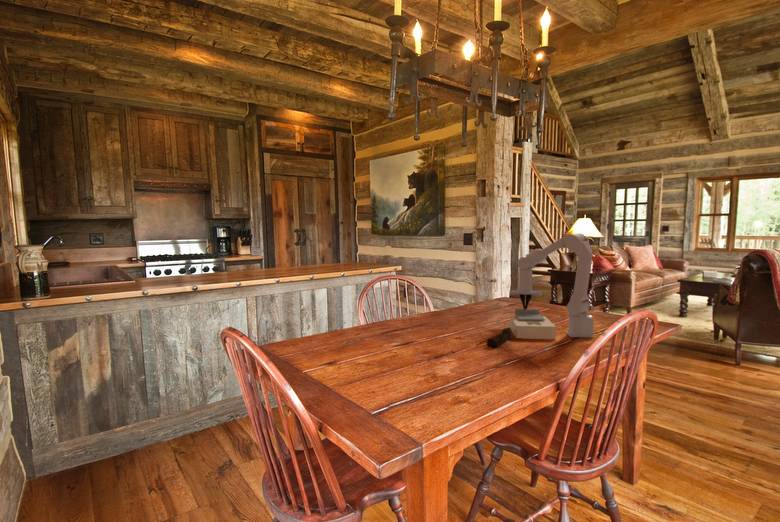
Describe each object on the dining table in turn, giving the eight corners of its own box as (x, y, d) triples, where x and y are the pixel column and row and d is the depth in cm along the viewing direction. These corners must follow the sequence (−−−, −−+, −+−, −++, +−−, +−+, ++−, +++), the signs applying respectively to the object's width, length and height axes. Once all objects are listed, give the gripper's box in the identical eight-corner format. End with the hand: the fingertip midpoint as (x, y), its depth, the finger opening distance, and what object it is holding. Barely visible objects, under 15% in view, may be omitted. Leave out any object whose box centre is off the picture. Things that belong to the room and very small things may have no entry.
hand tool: (495, 349, 157) (495, 338, 157) (486, 347, 160) (486, 336, 159) (516, 338, 171) (516, 328, 170) (507, 337, 174) (508, 326, 173)
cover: (538, 314, 187) (538, 309, 187) (544, 320, 176) (544, 314, 176) (514, 314, 189) (514, 308, 188) (519, 320, 178) (519, 314, 177)
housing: (544, 327, 186) (545, 316, 185) (555, 339, 168) (555, 326, 168) (509, 327, 188) (509, 315, 187) (516, 338, 170) (516, 325, 170)
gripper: (509, 283, 188) (509, 311, 190) (542, 283, 184) (541, 312, 185) (509, 280, 195) (509, 308, 196) (541, 281, 190) (540, 309, 192)
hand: (525, 310), depth 191 cm, fingers closed
